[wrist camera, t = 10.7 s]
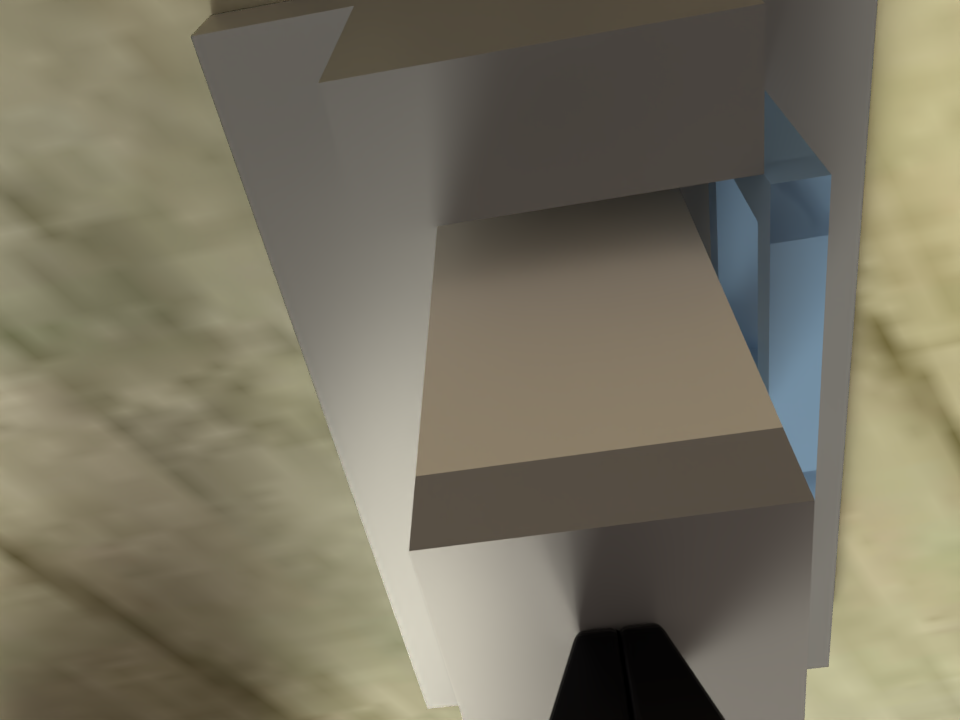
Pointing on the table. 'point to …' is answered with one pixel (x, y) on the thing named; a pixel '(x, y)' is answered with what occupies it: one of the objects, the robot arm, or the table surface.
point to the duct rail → (547, 198)
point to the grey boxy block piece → (603, 463)
